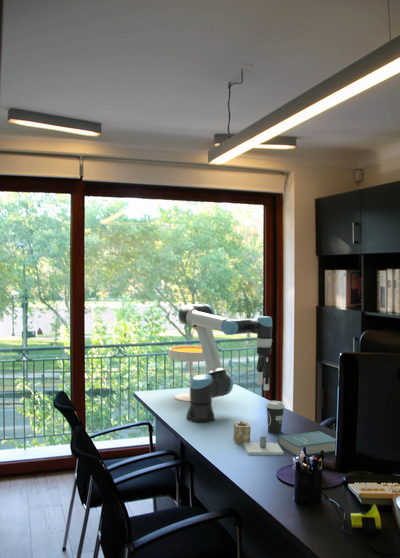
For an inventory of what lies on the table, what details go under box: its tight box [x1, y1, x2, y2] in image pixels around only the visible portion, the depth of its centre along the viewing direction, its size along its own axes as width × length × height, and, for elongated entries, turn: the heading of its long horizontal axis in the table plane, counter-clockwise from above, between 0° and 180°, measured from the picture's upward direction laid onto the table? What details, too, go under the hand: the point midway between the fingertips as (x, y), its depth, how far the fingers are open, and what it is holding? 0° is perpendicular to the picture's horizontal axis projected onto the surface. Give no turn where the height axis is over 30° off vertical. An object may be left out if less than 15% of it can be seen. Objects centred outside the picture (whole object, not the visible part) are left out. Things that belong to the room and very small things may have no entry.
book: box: [277, 430, 337, 457], centre depth 249 cm, size 23×16×5 cm
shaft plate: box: [242, 435, 285, 456], centre depth 244 cm, size 16×13×6 cm
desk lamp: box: [167, 345, 205, 403], centre depth 338 cm, size 30×30×31 cm
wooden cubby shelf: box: [232, 420, 252, 445], centre depth 255 cm, size 7×7×9 cm
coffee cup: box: [265, 400, 286, 435], centre depth 271 cm, size 10×10×15 cm
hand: (262, 387), depth 278 cm, fingers open, 13 cm apart
